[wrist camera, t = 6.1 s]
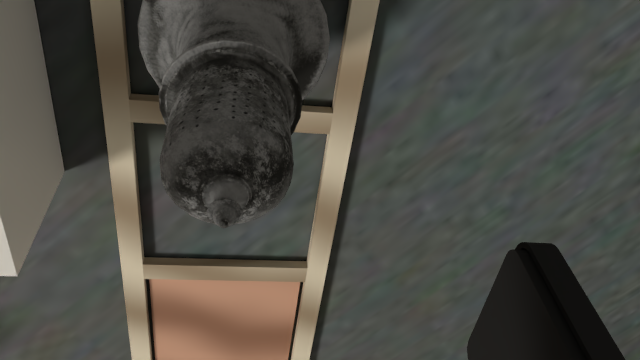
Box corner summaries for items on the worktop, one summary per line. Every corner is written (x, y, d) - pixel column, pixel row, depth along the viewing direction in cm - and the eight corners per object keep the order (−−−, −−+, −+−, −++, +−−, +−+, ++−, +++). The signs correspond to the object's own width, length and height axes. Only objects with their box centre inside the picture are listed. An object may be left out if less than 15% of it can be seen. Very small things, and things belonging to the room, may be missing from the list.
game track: (73, -181, 16) (68, -180, 16) (402, -136, 18) (405, -133, 17) (136, 377, 33) (134, 384, 33) (304, 376, 34) (304, 383, 34)
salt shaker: (138, -83, 18) (11, 97, 9) (318, -89, 19) (386, 79, 9) (169, 80, 22) (103, 334, 12) (320, 73, 22) (369, 313, 13)
